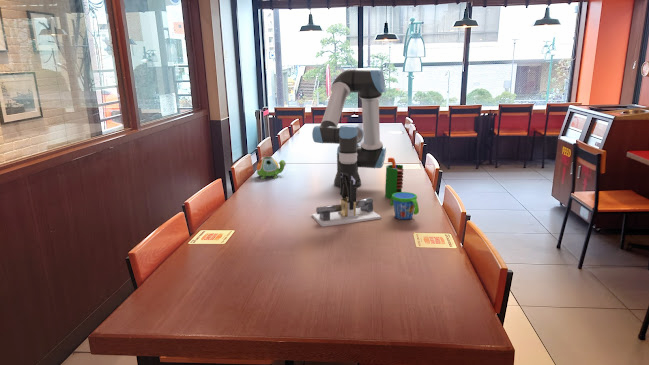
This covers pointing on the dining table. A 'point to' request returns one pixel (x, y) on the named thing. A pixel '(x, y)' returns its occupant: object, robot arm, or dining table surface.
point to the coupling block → (344, 207)
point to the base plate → (346, 218)
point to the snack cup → (404, 204)
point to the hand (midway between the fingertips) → (348, 214)
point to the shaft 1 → (328, 211)
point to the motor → (393, 178)
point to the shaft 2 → (365, 204)
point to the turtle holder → (269, 167)
